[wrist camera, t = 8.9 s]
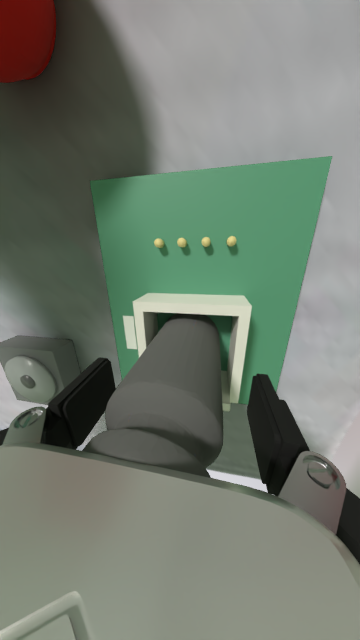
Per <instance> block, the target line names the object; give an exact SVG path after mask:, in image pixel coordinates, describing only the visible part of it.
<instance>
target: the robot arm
mask: <svg viewBox="0 0 360 640" xmlns="http://www.w3.org/2000/svg"><path fill="white" fill-rule="evenodd" d="M115 390H116V388H115V383H114V377H113V372H112V367H111V362H110V361H109V360H108V359H107V358H98V359H97V360H95V361H94V362H93V363H92V364H91V365H90V366H89V367H88V368H87V369H86V370H84V371H83V372H82V373H81V374H80V375H79V376H78V377H77V378H76V379H74V380H73V381H72V382H71V383H70V384H69V385H68V386H67V387H66V388H64V389H63V390H62V391H61V392H60V393H59V394H58V395H57V396H56V397H54V398H53V399H52V400H51V401H50V402H49V403H48V406H49V407H47V408H46V409H45V408H44V407H34V408H31V409H28V410H26V411H24V412H22V413H21V414H20V415H18V416H17V417H16V418H15V419H14V420H13V421H12V423H11V424H10V426H9V428H7V429H4V430H2V431H0V640H360V499H359V498H358V497H357V496H356V495H355V494H353V493H352V492H351V491H349V490H348V489H347V488H346V483H345V480H344V478H343V476H342V474H341V473H340V471H339V470H338V469H337V468H336V466H335V465H333V463H332V462H330V461H329V460H328V459H327V458H325V457H323V456H322V455H320V454H318V453H315V452H312V451H310V450H309V448H308V446H307V444H306V442H305V440H304V438H303V436H302V434H301V432H300V430H299V428H298V426H297V424H296V421H295V419H294V417H293V415H292V413H291V411H290V409H289V407H288V405H287V403H286V402H285V401H284V400H279V398H278V396H277V394H276V391H275V389H274V387H273V385H272V383H271V380H270V378H269V376H268V375H267V374H258V373H257V374H256V376H253V378H252V384H251V390H250V396H249V402H248V407H247V415H248V420H249V425H250V430H251V434H252V439H253V444H254V448H255V453H256V458H257V462H258V467H259V472H260V476H261V480H262V483H263V484H266V486H267V490H268V493H267V492H264V491H260V490H257V489H253V488H250V487H247V486H243V485H238V484H234V483H230V482H226V481H221V480H217V479H213V478H208V477H204V476H199V475H194V474H190V473H185V472H180V471H176V470H171V469H166V468H162V467H157V466H152V465H147V464H141V463H136V462H131V461H126V460H122V459H117V458H113V457H109V456H104V455H99V454H94V453H89V452H84V451H79V450H76V449H77V447H78V446H80V445H81V444H82V443H83V442H84V440H85V439H86V438H87V436H88V435H89V433H90V432H91V430H92V429H93V427H94V426H95V424H96V423H97V422H98V420H99V419H100V417H101V416H102V414H103V413H104V411H105V410H106V406H107V403H108V401H109V399H110V398H111V396H112V394H113V393H114V391H115ZM272 494H274V495H272Z"/></svg>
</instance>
